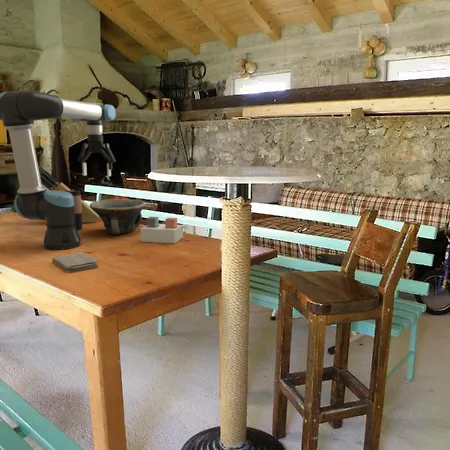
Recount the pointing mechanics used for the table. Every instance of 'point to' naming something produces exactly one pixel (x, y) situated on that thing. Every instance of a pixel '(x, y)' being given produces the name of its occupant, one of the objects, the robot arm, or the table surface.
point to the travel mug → (77, 208)
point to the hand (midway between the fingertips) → (97, 175)
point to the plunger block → (161, 234)
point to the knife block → (49, 182)
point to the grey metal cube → (153, 222)
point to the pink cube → (171, 223)
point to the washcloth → (75, 262)
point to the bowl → (119, 214)
